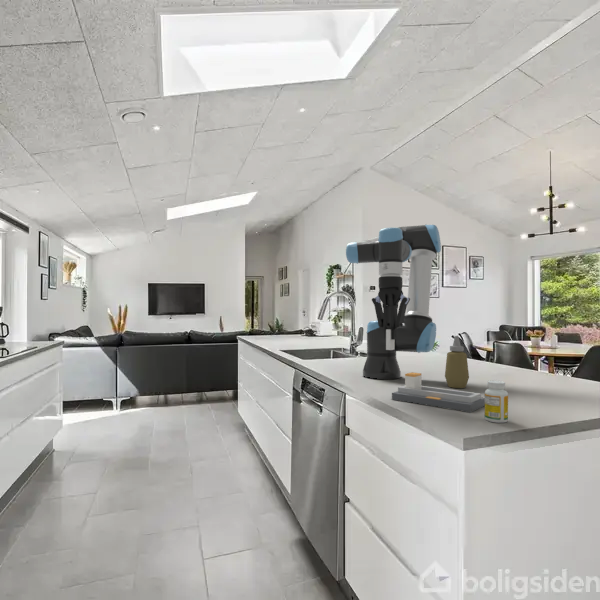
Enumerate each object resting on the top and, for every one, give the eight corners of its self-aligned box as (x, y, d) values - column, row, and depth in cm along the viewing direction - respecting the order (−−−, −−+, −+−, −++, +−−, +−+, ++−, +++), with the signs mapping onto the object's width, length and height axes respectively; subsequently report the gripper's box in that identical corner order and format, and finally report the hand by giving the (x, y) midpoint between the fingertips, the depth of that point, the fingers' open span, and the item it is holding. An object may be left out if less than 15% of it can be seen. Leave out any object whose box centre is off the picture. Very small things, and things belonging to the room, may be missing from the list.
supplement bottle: (491, 423, 107) (491, 383, 107) (480, 417, 112) (480, 380, 113) (512, 422, 108) (512, 383, 108) (500, 417, 113) (500, 379, 113)
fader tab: (405, 391, 136) (405, 373, 136) (412, 389, 139) (412, 372, 139) (414, 392, 134) (414, 375, 134) (421, 390, 137) (421, 373, 137)
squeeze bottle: (472, 389, 151) (472, 336, 152) (448, 389, 152) (448, 336, 152) (464, 385, 160) (464, 335, 160) (441, 385, 160) (441, 335, 160)
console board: (391, 399, 134) (391, 387, 135) (411, 393, 143) (411, 383, 143) (470, 412, 118) (470, 399, 118) (486, 404, 127) (486, 392, 127)
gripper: (366, 276, 144) (366, 349, 143) (402, 274, 135) (402, 351, 134) (379, 277, 149) (379, 347, 149) (414, 276, 141) (414, 350, 140)
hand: (390, 349), depth 142 cm, fingers closed
